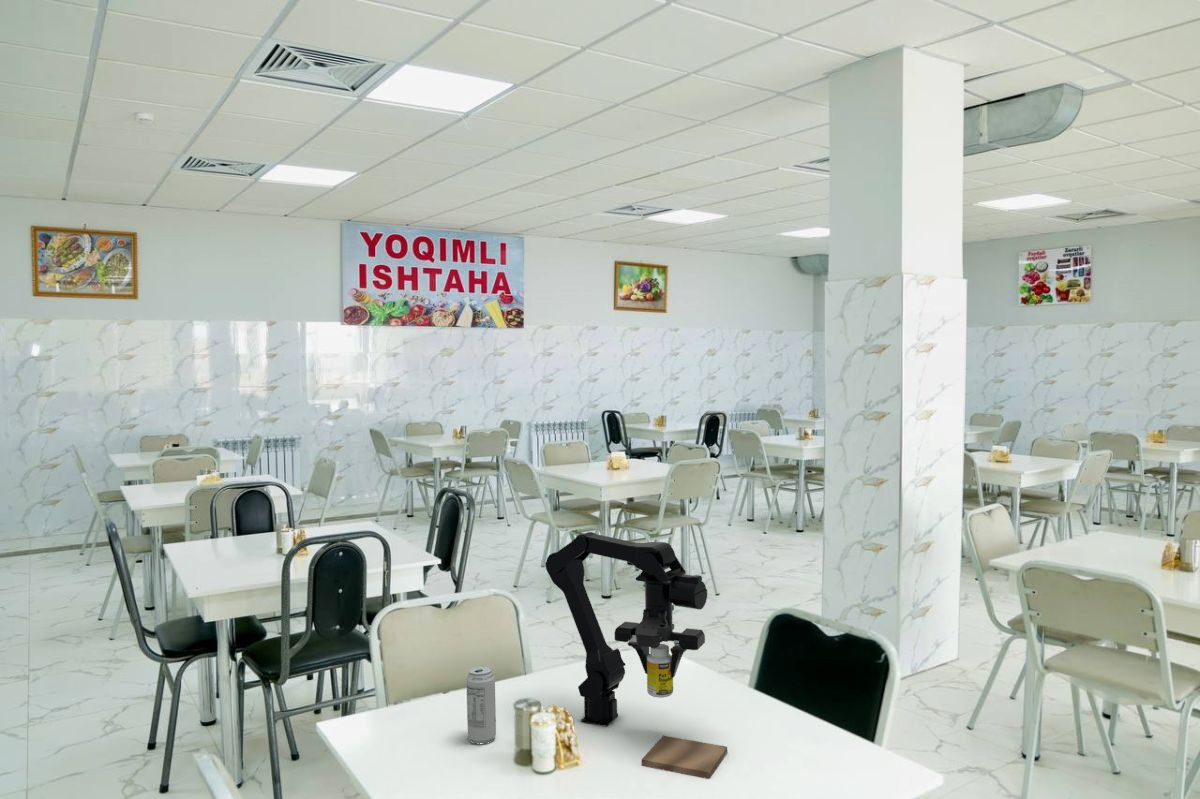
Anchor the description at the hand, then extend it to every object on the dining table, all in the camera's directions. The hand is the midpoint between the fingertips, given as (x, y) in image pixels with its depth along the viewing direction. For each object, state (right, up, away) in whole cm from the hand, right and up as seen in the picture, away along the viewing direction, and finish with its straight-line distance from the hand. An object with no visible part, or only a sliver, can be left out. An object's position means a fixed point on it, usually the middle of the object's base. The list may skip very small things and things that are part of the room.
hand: (660, 675), depth 181 cm
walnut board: (+4, -13, -11) cm, 18 cm away
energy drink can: (-38, -14, 0) cm, 41 cm away
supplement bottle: (0, -4, 0) cm, 4 cm away
